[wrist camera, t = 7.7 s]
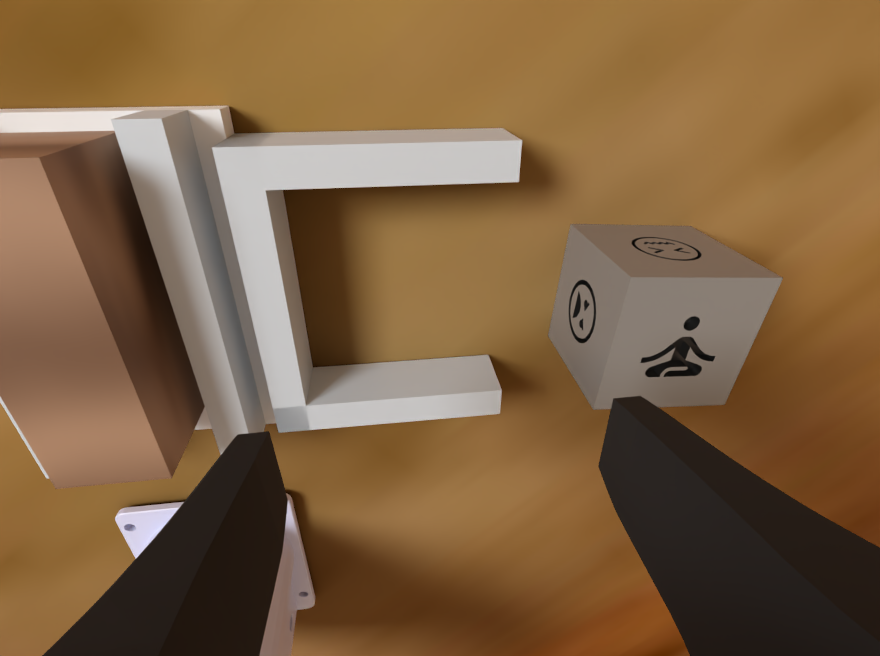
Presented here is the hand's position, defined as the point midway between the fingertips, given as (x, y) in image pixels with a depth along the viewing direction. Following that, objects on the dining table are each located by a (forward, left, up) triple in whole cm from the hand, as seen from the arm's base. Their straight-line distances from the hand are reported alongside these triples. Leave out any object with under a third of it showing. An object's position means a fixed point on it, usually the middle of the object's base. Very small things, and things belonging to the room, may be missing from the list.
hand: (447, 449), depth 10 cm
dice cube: (-1, -8, -10) cm, 13 cm away
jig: (0, +6, -9) cm, 11 cm away
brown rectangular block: (0, +10, -9) cm, 13 cm away
